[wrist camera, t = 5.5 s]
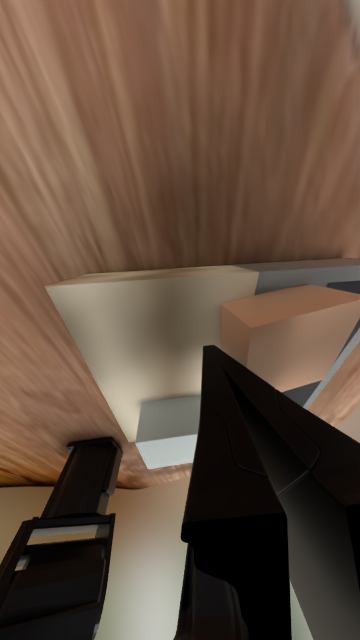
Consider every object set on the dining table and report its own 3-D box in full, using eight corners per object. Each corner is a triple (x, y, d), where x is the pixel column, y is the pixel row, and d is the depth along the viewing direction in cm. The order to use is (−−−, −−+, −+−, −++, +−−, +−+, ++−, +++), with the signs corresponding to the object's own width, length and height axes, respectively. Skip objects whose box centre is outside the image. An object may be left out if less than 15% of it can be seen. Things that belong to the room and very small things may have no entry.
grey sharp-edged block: (151, 431, 13) (148, 469, 11) (141, 402, 10) (135, 443, 8) (200, 424, 13) (208, 459, 11) (202, 394, 11) (212, 431, 9)
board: (135, 406, 16) (128, 442, 13) (86, 274, 9) (44, 286, 6) (213, 396, 17) (223, 428, 14) (228, 265, 9) (259, 272, 6)
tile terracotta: (221, 367, 9) (242, 403, 7) (220, 303, 7) (250, 328, 5) (285, 350, 10) (324, 379, 7) (306, 283, 7) (371, 296, 5)
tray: (213, 396, 17) (223, 428, 14) (228, 265, 9) (259, 272, 6) (277, 388, 18) (301, 417, 15) (342, 258, 10) (420, 261, 7)
